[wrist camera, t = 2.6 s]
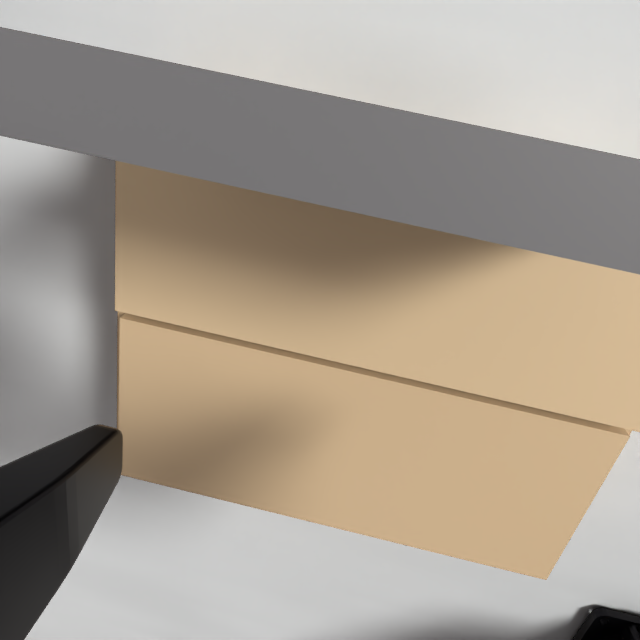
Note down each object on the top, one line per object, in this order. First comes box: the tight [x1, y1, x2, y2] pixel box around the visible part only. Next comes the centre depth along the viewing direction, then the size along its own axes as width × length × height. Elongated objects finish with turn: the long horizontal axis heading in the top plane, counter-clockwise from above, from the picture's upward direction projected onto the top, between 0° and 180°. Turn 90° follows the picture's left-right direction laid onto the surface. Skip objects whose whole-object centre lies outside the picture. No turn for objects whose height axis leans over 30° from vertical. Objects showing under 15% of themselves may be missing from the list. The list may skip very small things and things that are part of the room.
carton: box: [117, 311, 632, 580], centre depth 18 cm, size 14×18×5 cm
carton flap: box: [0, 27, 640, 432], centre depth 9 cm, size 7×17×10 cm, turn 79°
